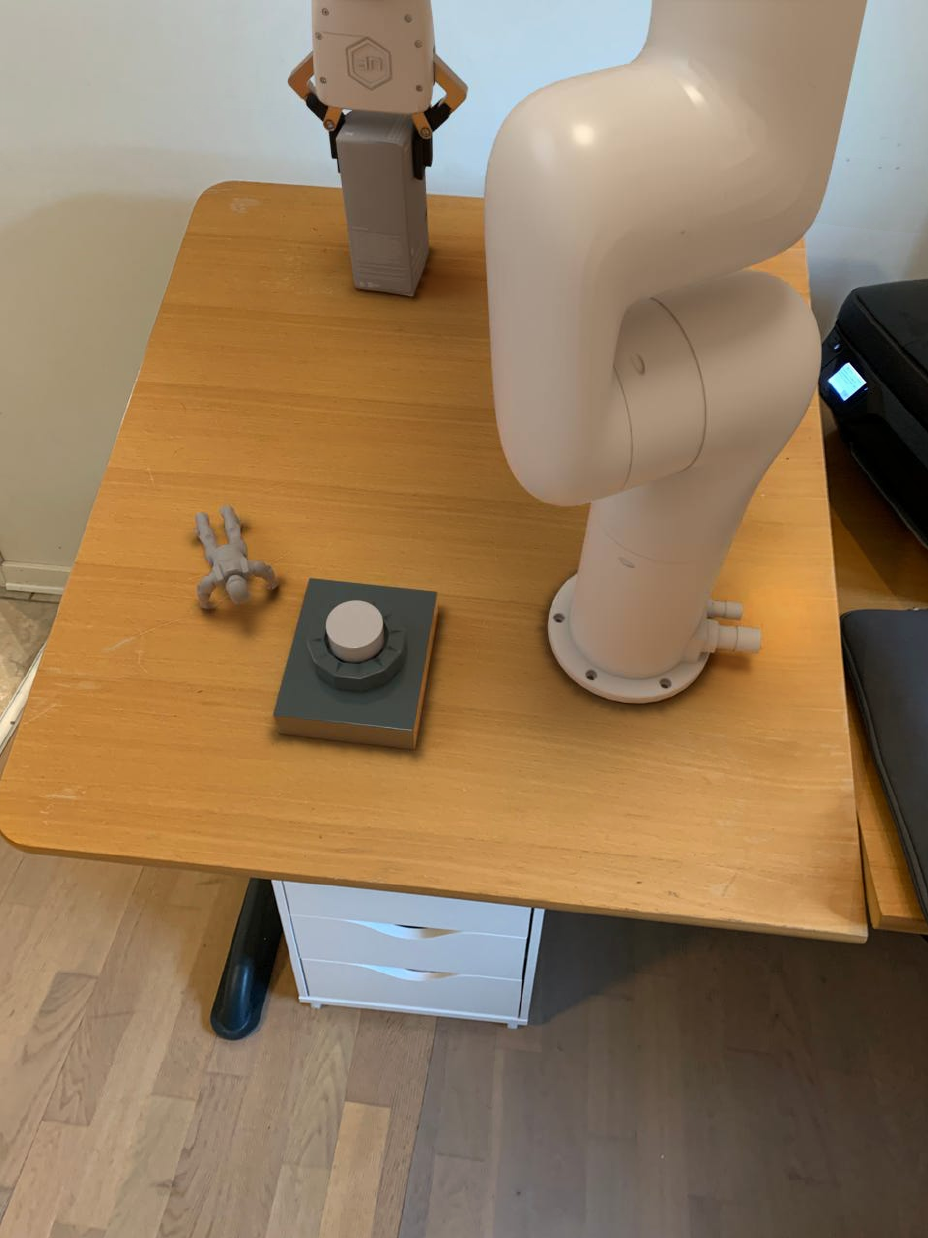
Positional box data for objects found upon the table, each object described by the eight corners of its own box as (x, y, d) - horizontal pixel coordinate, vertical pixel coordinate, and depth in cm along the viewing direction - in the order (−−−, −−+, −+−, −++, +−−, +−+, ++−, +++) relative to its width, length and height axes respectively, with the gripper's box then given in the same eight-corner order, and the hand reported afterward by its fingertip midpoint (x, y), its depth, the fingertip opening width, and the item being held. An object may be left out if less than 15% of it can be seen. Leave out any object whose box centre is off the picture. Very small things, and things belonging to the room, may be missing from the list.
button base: (438, 612, 74) (437, 576, 70) (414, 750, 67) (412, 718, 63) (313, 599, 75) (305, 561, 70) (279, 734, 68) (267, 701, 64)
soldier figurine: (191, 568, 79) (211, 647, 70) (172, 514, 76) (189, 590, 66) (264, 547, 80) (293, 622, 71) (248, 492, 77) (276, 564, 68)
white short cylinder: (388, 619, 68) (387, 603, 66) (379, 666, 66) (377, 651, 64) (334, 613, 68) (332, 597, 67) (323, 659, 66) (320, 644, 64)
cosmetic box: (413, 299, 95) (410, 148, 82) (345, 288, 95) (331, 137, 82) (432, 249, 99) (431, 98, 86) (367, 239, 100) (356, 88, 87)
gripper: (249, -35, 72) (284, 183, 87) (473, -18, 71) (469, 199, 86) (272, -76, 76) (301, 139, 91) (484, -62, 75) (478, 153, 90)
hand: (382, 166), depth 88 cm, fingers closed on cosmetic box, 6 cm apart
